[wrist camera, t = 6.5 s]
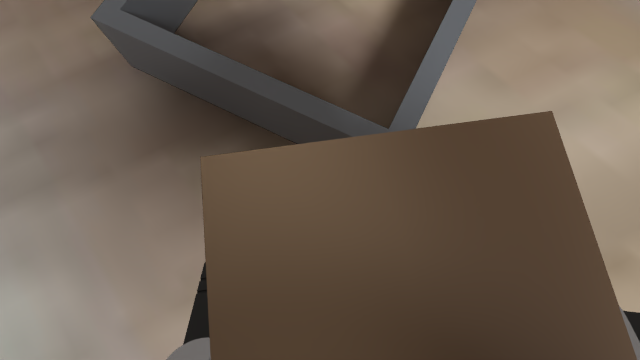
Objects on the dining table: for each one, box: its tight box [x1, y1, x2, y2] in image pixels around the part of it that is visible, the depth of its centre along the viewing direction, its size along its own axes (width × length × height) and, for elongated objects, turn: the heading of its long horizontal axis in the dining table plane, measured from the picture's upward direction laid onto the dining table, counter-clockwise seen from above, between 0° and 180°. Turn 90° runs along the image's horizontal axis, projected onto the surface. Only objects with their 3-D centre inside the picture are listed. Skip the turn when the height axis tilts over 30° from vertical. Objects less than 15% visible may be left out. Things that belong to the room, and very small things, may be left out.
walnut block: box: [200, 111, 637, 360], centre depth 10 cm, size 5×5×11 cm
